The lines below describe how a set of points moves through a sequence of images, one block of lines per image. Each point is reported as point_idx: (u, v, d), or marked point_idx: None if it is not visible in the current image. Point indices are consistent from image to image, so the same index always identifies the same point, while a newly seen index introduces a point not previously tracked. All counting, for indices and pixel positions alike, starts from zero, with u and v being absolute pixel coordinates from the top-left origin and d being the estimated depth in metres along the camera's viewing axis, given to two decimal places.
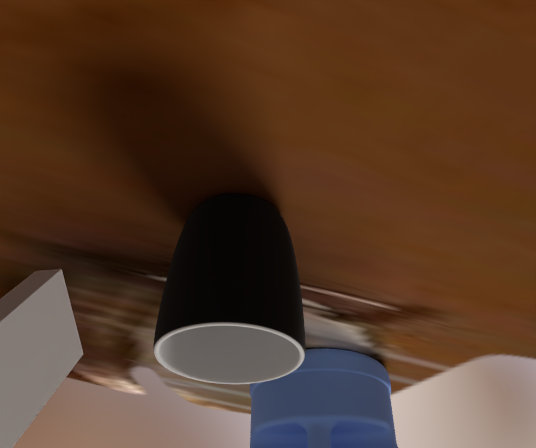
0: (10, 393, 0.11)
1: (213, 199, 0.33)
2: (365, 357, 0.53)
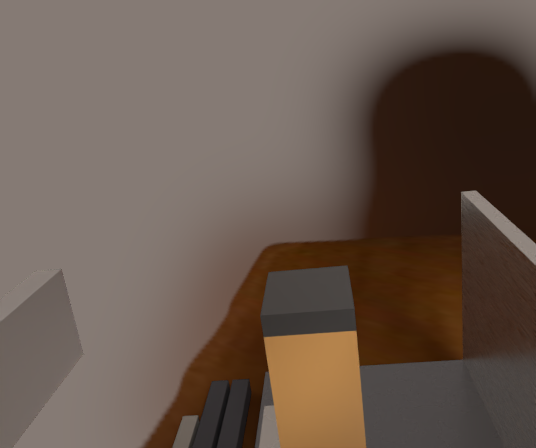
0: (10, 393, 0.11)
1: None
2: None
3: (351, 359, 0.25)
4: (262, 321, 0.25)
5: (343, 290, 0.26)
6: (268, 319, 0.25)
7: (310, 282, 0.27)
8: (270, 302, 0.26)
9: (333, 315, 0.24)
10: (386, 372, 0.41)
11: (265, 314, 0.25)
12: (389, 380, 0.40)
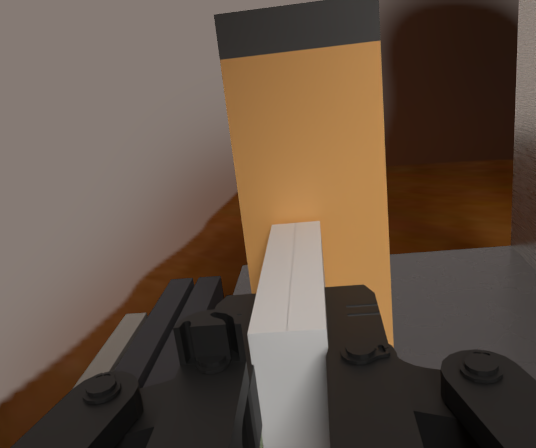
0: None
1: None
2: None
3: (371, 99, 0.15)
4: (217, 27, 0.14)
5: None
6: (227, 22, 0.14)
7: None
8: None
9: (341, 9, 0.14)
10: (406, 260, 0.30)
11: None
12: (411, 267, 0.29)
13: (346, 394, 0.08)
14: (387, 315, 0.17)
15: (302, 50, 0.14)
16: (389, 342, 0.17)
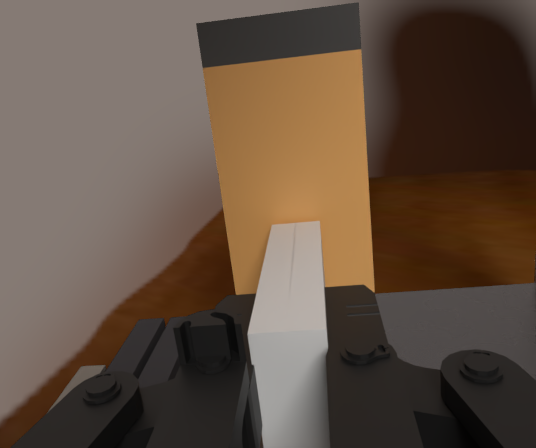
0: None
1: None
2: None
3: (352, 107, 0.15)
4: (200, 36, 0.14)
5: None
6: (209, 31, 0.14)
7: None
8: None
9: (322, 18, 0.14)
10: (412, 301, 0.25)
11: (205, 22, 0.14)
12: (418, 311, 0.24)
13: (346, 394, 0.08)
14: None
15: (284, 58, 0.14)
16: None
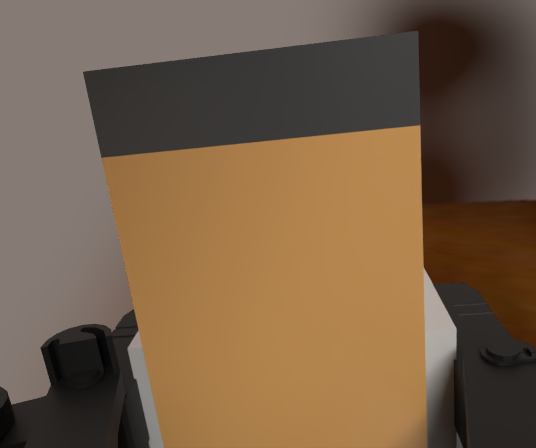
0: None
1: None
2: None
3: (399, 236, 0.07)
4: (92, 96, 0.07)
5: None
6: (111, 87, 0.07)
7: None
8: None
9: (340, 63, 0.07)
10: None
11: None
12: None
13: (487, 395, 0.07)
14: None
15: (262, 142, 0.07)
16: None
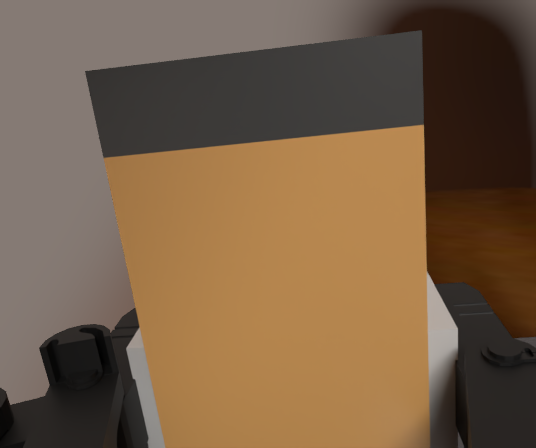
0: None
1: None
2: None
3: (402, 235, 0.07)
4: (94, 95, 0.07)
5: None
6: (113, 87, 0.07)
7: None
8: None
9: (343, 63, 0.07)
10: None
11: None
12: None
13: (488, 395, 0.07)
14: None
15: (266, 142, 0.07)
16: None
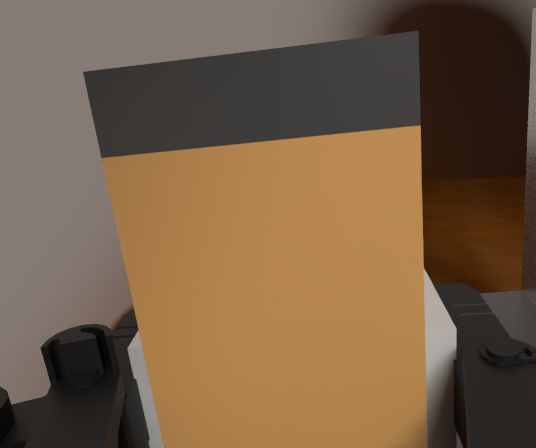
0: None
1: None
2: None
3: (399, 236, 0.07)
4: (92, 96, 0.07)
5: None
6: (111, 87, 0.07)
7: None
8: None
9: (340, 63, 0.07)
10: None
11: None
12: None
13: (487, 395, 0.07)
14: None
15: (263, 142, 0.07)
16: None
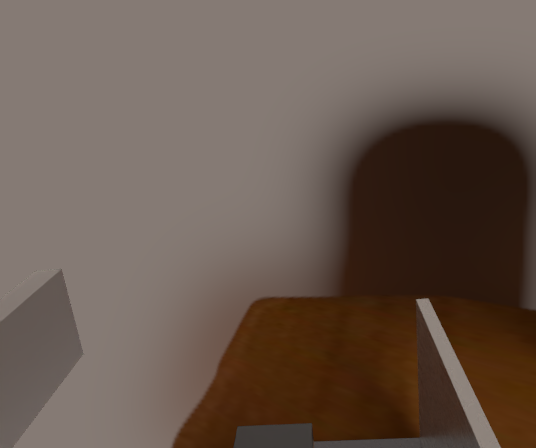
0: (10, 393, 0.11)
1: None
2: None
3: None
4: None
5: None
6: None
7: (275, 446, 0.29)
8: None
9: None
10: None
11: None
12: None
13: None
14: None
15: None
16: None
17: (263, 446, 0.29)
